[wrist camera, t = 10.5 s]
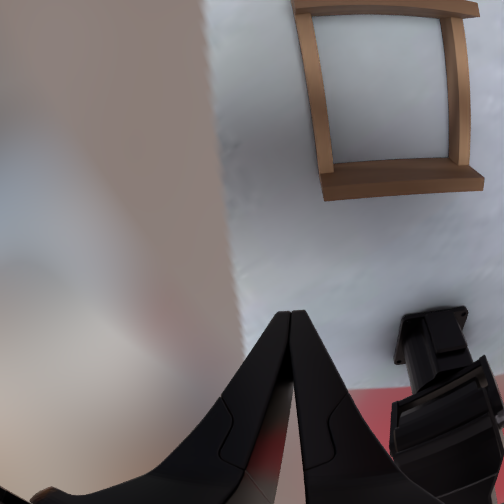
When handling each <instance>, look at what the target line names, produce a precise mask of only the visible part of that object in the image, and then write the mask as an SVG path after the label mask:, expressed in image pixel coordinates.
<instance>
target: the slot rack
mask: <svg viewBox="0 0 504 504" xmlns="http://www.w3.org/2000/svg"><path fill="white" fill-rule="evenodd" d="M291 4H292V8H293V13H294V18H295V23H296V28H297V33H298V38H299V43H300V48H301V54H302V59H303V65H304V71H305V77H306V83H307V89H308V95H309V102H310V108H311V115H312V122H313V130H314V137H315V145H316V153H317V161H318V170H319V178H320V183H321V188H322V193H323V198H324V201H335V200H346V199H358V198H370V197H383V196H397V195H411V194H427V193H445V192H466V191H483V187H484V177H483V176H482V175H481V174H479V173H478V172H477V171H476V170H474V169H473V168H472V167H471V166H469V158H470V131H471V109H470V82H469V68H468V57H467V48H466V40H465V32H464V26H463V19H465V18H474V17H480V14H479V9H478V3H475V2H471V1H466V0H291ZM351 14H381V15H404V16H418V17H428V18H437V19H440V23H441V29H442V36H443V43H444V52H445V61H446V71H447V84H448V103H449V158H416V159H394V160H377V161H362V162H349V163H337V164H333V158H332V148H331V139H330V130H329V122H328V114H327V106H326V99H325V92H324V85H323V79H322V72H321V66H320V60H319V54H318V49H317V43H316V38H315V32H314V27H313V22H312V17H313V16H327V15H351Z"/></svg>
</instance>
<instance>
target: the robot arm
mask: <svg viewBox="0 0 504 504" xmlns="http://www.w3.org/2000/svg"><path fill="white" fill-rule="evenodd" d="M467 316H468V310H467V308H466V307H461V308H454V309H448V310H442V311H435V312H428V313H421V314H414V315H407V316H405V317H403V318H402V320H401V326H400V331H399V336H398V341H397V346H396V351H395V355H394V364H396V365H400V364H406V366H407V371H408V375H409V380H410V384H411V389H412V394H413V395H411V396H409V397H407V398H405V399H403V400H400V401H396V402H393V403H392V412H391V426H390V441H389V449H390V455H391V457H393V460H394V461H393V460H392V458H391V457H390V455H389V454H388V453H387V451H386V450H385V449H384V447H383V446H382V445H381V443H380V442H379V440H378V439H377V438H376V436H375V435H374V434H373V432H372V431H371V429H370V428H369V426H368V425H367V423H366V422H365V420H364V419H363V417H362V415H361V414H360V412H359V410H358V408H357V407H356V405H355V403H354V401H353V399H352V397H351V395H350V394H349V393H348V390H347V388H346V386H345V384H344V382H343V380H342V378H341V376H340V374H339V373H338V371H337V369H336V367H335V365H334V363H333V361H332V359H331V357H330V355H329V353H328V352H327V350H326V348H325V346H324V344H323V342H322V340H321V338H320V336H319V335H318V333H317V331H316V329H315V327H314V325H313V323H312V321H311V320H310V318H309V316H308V314H307V312H306V311H305V310H294V311H292V312H290V311H279V312H277V313H276V314H275V315H274V317H273V318H272V320H271V321H270V323H269V325H268V326H267V328H266V329H265V331H264V332H263V334H262V335H261V337H260V338H259V340H258V341H257V343H256V344H255V346H254V347H253V349H252V350H251V352H250V353H249V355H248V356H247V358H246V359H245V361H244V362H243V364H242V365H241V366H240V368H239V369H238V371H237V372H236V374H235V375H234V377H233V378H232V379H231V381H230V382H229V384H228V385H227V387H226V388H225V390H224V391H223V393H222V394H221V397H219V398H218V400H217V401H216V402H215V404H214V405H213V406H212V408H211V409H210V410H209V412H208V413H207V414H206V416H205V417H204V418H203V419H202V421H201V422H200V423H199V424H198V425H197V426H196V427H195V429H194V430H193V431H192V432H191V433H190V434H189V435H188V436H187V437H186V438H185V439H184V440H183V442H181V444H179V445H178V447H177V448H176V449H175V450H174V451H173V452H172V453H171V454H170V455H169V456H168V457H167V458H166V459H165V460H164V461H163V462H162V463H161V464H159V465H158V466H157V467H156V468H154V469H153V470H151V471H150V472H148V473H146V474H144V475H142V476H139V477H137V478H134V479H131V480H129V481H126V482H123V483H121V484H118V485H115V486H112V487H110V488H107V489H103V490H100V491H97V492H94V493H91V494H87V495H71V494H67V493H66V492H63V491H61V490H59V489H57V488H54V487H52V486H51V487H48V488H46V489H44V490H42V491H39V492H38V493H36V494H35V495H34V496H33V497H32V498H31V499H30V502H31V503H32V504H274V500H275V495H276V490H277V485H278V479H279V474H280V469H281V463H282V457H283V452H284V446H285V440H286V433H287V427H288V421H289V415H290V408H291V401H292V394H293V388H294V392H295V400H296V409H297V418H298V427H299V436H300V445H301V455H302V464H303V472H304V485H305V497H306V504H497V498H496V492H495V482H496V480H497V477H498V473H499V470H500V467H501V464H502V460H503V457H504V436H503V432H502V428H504V404H503V401H502V397H501V394H500V391H499V388H498V385H497V383H496V380H495V377H494V375H493V372H492V370H491V368H490V365H489V363H488V361H487V359H486V356H485V355H483V356H482V357H480V358H479V360H477V361H475V362H473V360H472V357H471V354H470V352H469V349H468V347H467V342H466V340H465V337H464V335H463V333H462V330H463V327H464V324H465V321H466V319H467ZM406 321H407V322H406ZM30 502H27V501H26V500H24V499H23V498H21V497H19V496H17V495H15V494H13V493H12V492H10V491H8V490H6V489H5V488H3V487H1V486H0V504H31V503H30ZM502 504H504V503H502Z"/></svg>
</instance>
